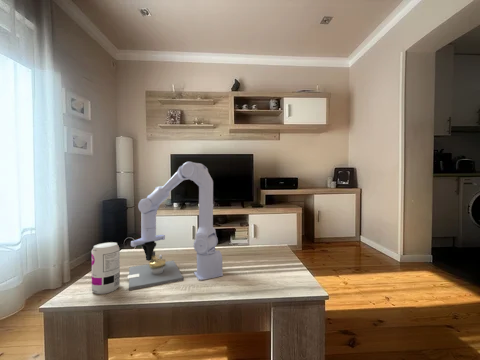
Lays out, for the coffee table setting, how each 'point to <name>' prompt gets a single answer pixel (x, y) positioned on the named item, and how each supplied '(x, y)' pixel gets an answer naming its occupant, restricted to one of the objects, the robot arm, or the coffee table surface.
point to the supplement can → (105, 267)
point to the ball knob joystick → (156, 261)
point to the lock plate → (153, 275)
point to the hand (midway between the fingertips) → (148, 260)
